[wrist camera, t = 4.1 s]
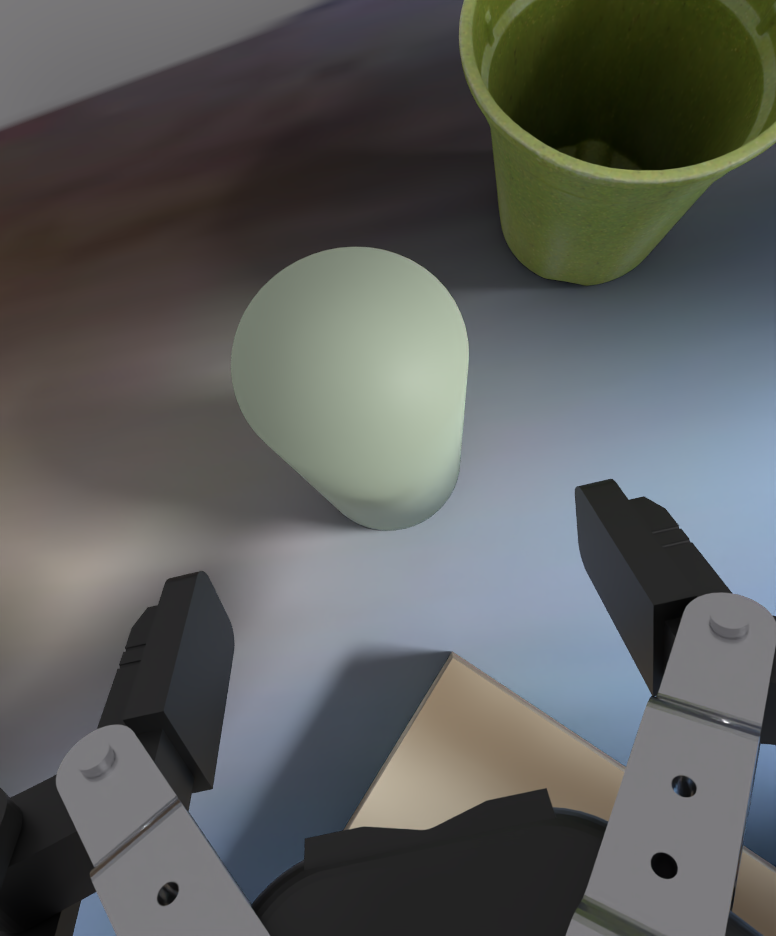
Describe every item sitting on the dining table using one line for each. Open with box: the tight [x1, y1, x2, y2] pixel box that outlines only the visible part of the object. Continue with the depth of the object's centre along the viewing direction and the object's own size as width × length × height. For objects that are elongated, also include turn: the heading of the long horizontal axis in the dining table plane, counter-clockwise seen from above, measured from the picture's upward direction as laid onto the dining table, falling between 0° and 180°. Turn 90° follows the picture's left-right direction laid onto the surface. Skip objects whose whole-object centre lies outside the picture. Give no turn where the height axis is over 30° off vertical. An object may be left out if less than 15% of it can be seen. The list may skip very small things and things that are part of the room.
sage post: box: [231, 247, 469, 531], centre depth 19 cm, size 5×5×10 cm
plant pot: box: [459, 0, 776, 286], centre depth 21 cm, size 9×9×9 cm
